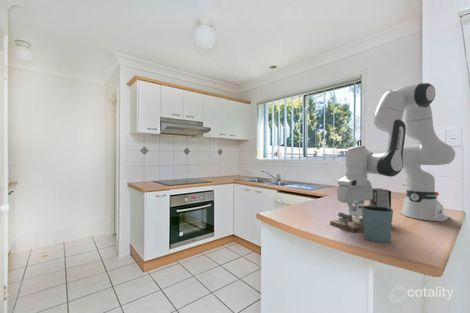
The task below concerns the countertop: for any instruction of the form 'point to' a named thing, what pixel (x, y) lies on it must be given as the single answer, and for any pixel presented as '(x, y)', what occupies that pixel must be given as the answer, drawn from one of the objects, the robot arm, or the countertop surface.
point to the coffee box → (381, 198)
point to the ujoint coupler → (357, 209)
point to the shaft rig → (349, 222)
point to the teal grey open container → (377, 223)
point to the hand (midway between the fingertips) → (355, 210)
